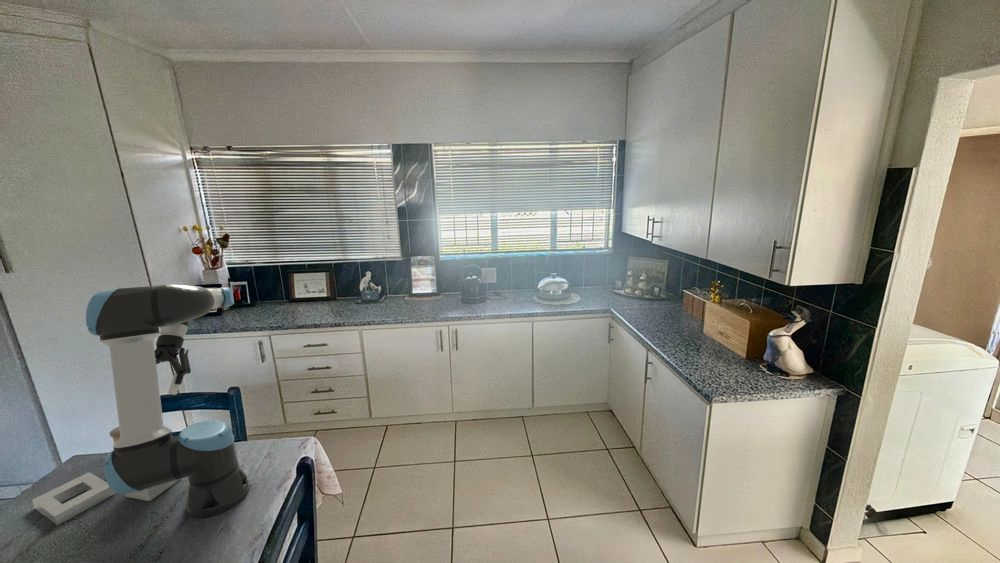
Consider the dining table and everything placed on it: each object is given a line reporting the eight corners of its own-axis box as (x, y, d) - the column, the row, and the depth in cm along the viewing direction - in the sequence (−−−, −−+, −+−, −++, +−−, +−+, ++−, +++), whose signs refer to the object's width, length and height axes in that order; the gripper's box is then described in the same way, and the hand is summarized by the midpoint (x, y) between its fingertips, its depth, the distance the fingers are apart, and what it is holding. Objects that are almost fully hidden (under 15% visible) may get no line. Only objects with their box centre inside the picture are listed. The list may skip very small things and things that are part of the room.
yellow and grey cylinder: (146, 460, 129) (138, 426, 125) (124, 471, 123) (115, 436, 120) (137, 455, 131) (128, 422, 128) (115, 466, 126) (105, 432, 123)
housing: (114, 494, 114) (112, 485, 114) (57, 525, 104) (54, 516, 103) (91, 480, 120) (89, 472, 119) (34, 508, 109) (31, 499, 108)
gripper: (212, 337, 146) (196, 394, 137) (147, 341, 146) (127, 398, 137) (197, 331, 139) (179, 391, 130) (129, 335, 139) (107, 395, 130)
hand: (152, 395), depth 133 cm, fingers open, 13 cm apart
